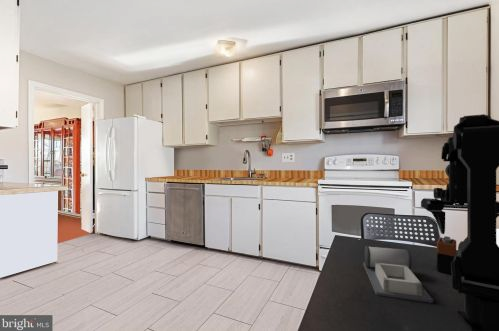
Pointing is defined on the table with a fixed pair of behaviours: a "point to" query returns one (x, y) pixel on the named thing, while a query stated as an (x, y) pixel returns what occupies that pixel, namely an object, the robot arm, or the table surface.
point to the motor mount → (393, 274)
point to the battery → (445, 254)
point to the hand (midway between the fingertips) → (461, 235)
